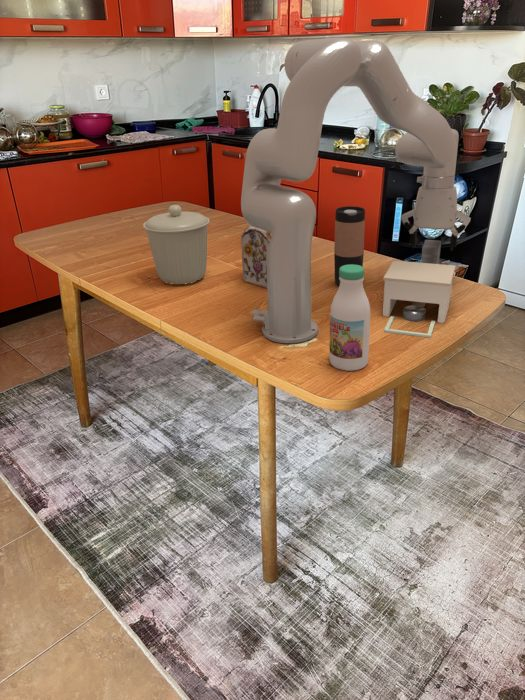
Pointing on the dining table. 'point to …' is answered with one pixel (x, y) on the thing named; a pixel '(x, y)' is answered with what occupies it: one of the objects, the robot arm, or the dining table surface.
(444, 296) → the white open box
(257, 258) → the decorative jar
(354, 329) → the milk bottle
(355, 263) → the travel mug
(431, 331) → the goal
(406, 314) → the ball
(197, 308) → the dining table surface
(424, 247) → the grey block on stick
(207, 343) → the dining table surface
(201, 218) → the canister
